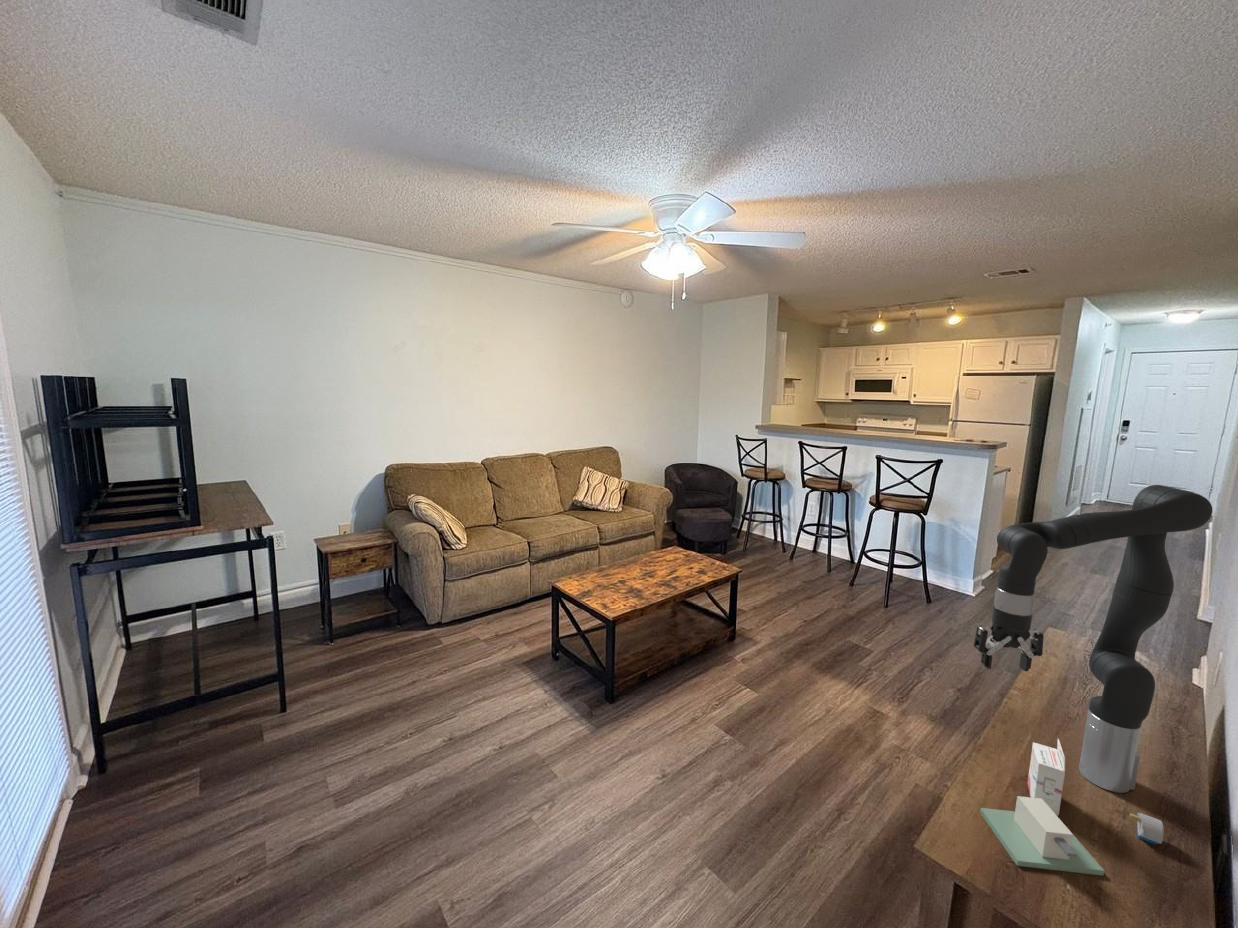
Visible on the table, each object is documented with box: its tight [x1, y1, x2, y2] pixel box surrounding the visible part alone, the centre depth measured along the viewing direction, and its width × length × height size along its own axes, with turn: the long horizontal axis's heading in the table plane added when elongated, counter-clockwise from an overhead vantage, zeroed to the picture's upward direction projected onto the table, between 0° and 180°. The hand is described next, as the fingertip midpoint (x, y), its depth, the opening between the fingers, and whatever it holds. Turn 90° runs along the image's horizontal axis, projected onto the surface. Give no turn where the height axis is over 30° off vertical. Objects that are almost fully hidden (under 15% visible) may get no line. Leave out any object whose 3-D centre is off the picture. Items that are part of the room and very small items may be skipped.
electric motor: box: [1129, 812, 1165, 846], centre depth 108 cm, size 7×5×5 cm
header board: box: [979, 807, 1105, 876], centre depth 106 cm, size 16×13×5 cm
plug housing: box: [1014, 795, 1076, 860], centre depth 104 cm, size 5×12×6 cm, turn 172°
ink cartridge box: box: [1026, 738, 1066, 816], centre depth 117 cm, size 9×5×15 cm, turn 148°
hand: (1004, 668), depth 123 cm, fingers open, 8 cm apart
